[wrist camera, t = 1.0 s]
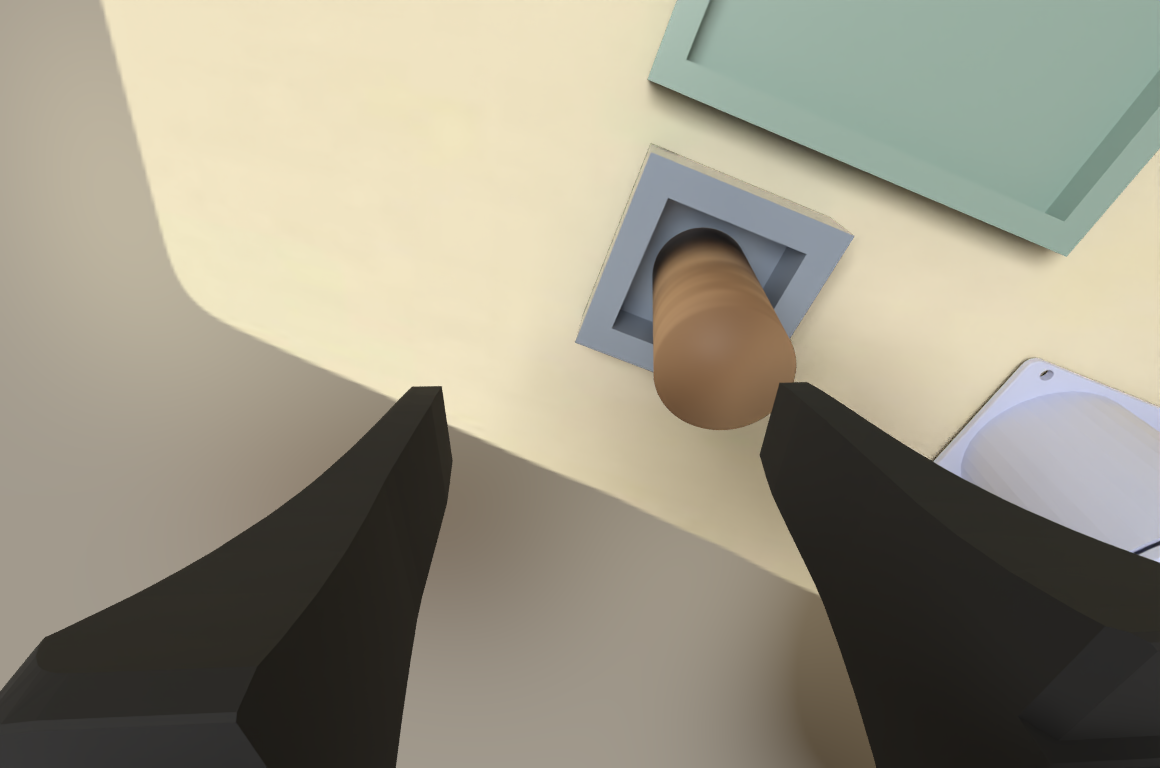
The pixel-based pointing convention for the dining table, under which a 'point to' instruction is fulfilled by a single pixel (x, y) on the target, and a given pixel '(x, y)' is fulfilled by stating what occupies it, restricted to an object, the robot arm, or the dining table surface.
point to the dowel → (715, 333)
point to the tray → (943, 95)
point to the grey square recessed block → (711, 200)
